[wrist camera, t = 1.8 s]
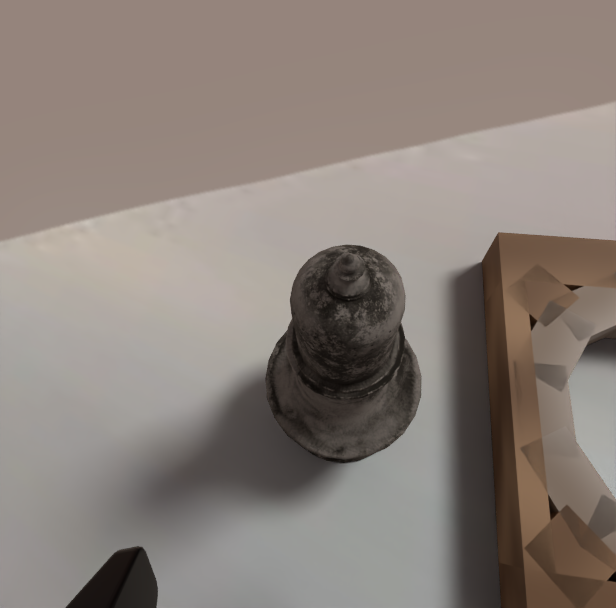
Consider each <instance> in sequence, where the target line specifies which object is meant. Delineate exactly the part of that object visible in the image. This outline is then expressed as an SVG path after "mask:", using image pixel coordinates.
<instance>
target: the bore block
mask: <svg viewBox="0 0 616 608" xmlns="http://www.w3.org/2000/svg"><path fill="white" fill-rule="evenodd" d="M482 270H483V288H484V306H485V324H486V342H487V360H488V378H489V396H490V414H491V432H492V451H493V469H494V487H495V505H496V523H497V541H498V559H499V577H500V595H501V608H616V499H615V498H614V496H613V495H612V493H611V492H610V490H609V489H608V487H607V486H606V484H605V483H604V481H603V480H602V478H601V477H600V476H599V474H598V473H597V471H596V470H595V468H594V467H593V465H592V464H591V462H590V461H589V459H588V458H587V456H586V455H585V454H584V452H583V451H582V449H581V448H580V446H579V445H578V443H577V442H576V437H575V429H574V422H573V415H572V407H571V400H570V393H569V385H568V379H569V377H570V375H571V374H572V372H573V370H574V368H575V366H576V364H577V362H578V360H579V358H580V356H581V354H582V353H583V351H584V349H585V347H586V346H587V345H590V344H592V343H594V342H596V341H598V340H601V339H603V338H612V339H616V241H614V240H599V239H585V238H571V237H557V236H542V235H528V234H514V233H500V232H498V234H497V236H496V237H495V239H494V241H493V243H492V244H491V246H490V248H489V250H488V251H487V253H486V255H485V257H484V259H483V260H482Z"/></svg>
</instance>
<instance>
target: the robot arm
mask: <svg viewBox="0 0 616 608" xmlns="http://www.w3.org/2000/svg"><path fill="white" fill-rule="evenodd" d="M157 597H158V587H157V581H156V578H155V575H154V573H153V570H152V567H151V564H150V562H149V559H148V556H147V554H146V551H145V550H144V548H143V547H139V546H137V547H132V548H127V549H121V550H119V551H117V552H115V553H114V554H113V555H112V556H111V557H110V558H109V559H108V561H107V562H106V563H105V564H104V565H103V566H102V567H101V568H100V570H99V571H98V572H97V573H96V574H95V575H94V576H93V577H92V579H91V580H90V581H89V582H88V583H87V584H86V585H85V586H84V587H83V589H82V590H81V591H80V592H79V593H78V594H77V595H76V596H75V598H74V599H73V600H72V601H71V602H70V603H69V604H68V605H67V607H66V608H156V606H157Z"/></svg>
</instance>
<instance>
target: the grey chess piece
mask: <svg viewBox="0 0 616 608" xmlns="http://www.w3.org/2000/svg"><path fill="white" fill-rule="evenodd" d="M290 305H291V313H292V320H291V322H290V324H289V326H288V330H287V331H286V332H285V334H284V335H283V336H282V337H281V338H280V340H279V341H278V342H277V344H276V346H275V348H274V350H273V352H272V354H271V356H270V359H269V362H268V368H267V373H266V389H267V399H268V402H269V404H270V407H271V410H272V412H273V415H274V418H275V419H276V420H277V422H278V423H279V425H280V426H281V427H282V429H283V430H284V431H285V433H286V434H287V435H288V436H289V437H290V438H291V439H293V440H294V441H295V442H297V443H298V444H299V445H300V446H302V447H303V448H304V449H307V450H308V451H309V452H310V453H312V454H313V455H316V456H318V457H320V458H323V459H325V460H328V461H335V462H343V463H344V462H351V461H358V460H361V459H364V458H366V457H368V456H370V455H372V454H374V453H376V452H379V451H381V450H383V449H385V448H387V447H388V446H390V445H391V444H392V443H393V442H394V441H395V440H397V439H398V438H399V437H400V436H401V435H402V434H403V433H404V432H405V430H406V429H407V427H408V426H409V424H410V423H411V421H412V420H413V418H414V417H415V414H416V411H417V408H418V404H419V401H420V398H421V373H420V369H419V365H418V361H417V358H416V355H415V354H414V352H413V350H412V348H411V347H410V345H409V343H408V341H407V340H406V339H405V336H404V331H403V327H402V323H401V320H402V317H403V314H404V311H405V290H404V286H403V282H402V278H401V276H400V274H399V273H398V271H397V269H396V268H395V266H394V265H393V264H392V263H391V262H390V261H389V260H388V259H387V258H386V257H385V256H383V255H381V254H380V253H378V252H376V251H375V250H372V249H369V248H366V247H363V246H357V245H342V246H335V247H331V248H328V249H326V250H323V251H321V252H319V253H317V254H316V255H315V256H313V257H312V258H310V259H309V260H308V261H307V262H306V263H305V264H304V265H303V267H302V268H301V269H300V270H299V272H298V274H297V276H296V278H295V280H294V283H293V286H292V292H291V297H290Z"/></svg>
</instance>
